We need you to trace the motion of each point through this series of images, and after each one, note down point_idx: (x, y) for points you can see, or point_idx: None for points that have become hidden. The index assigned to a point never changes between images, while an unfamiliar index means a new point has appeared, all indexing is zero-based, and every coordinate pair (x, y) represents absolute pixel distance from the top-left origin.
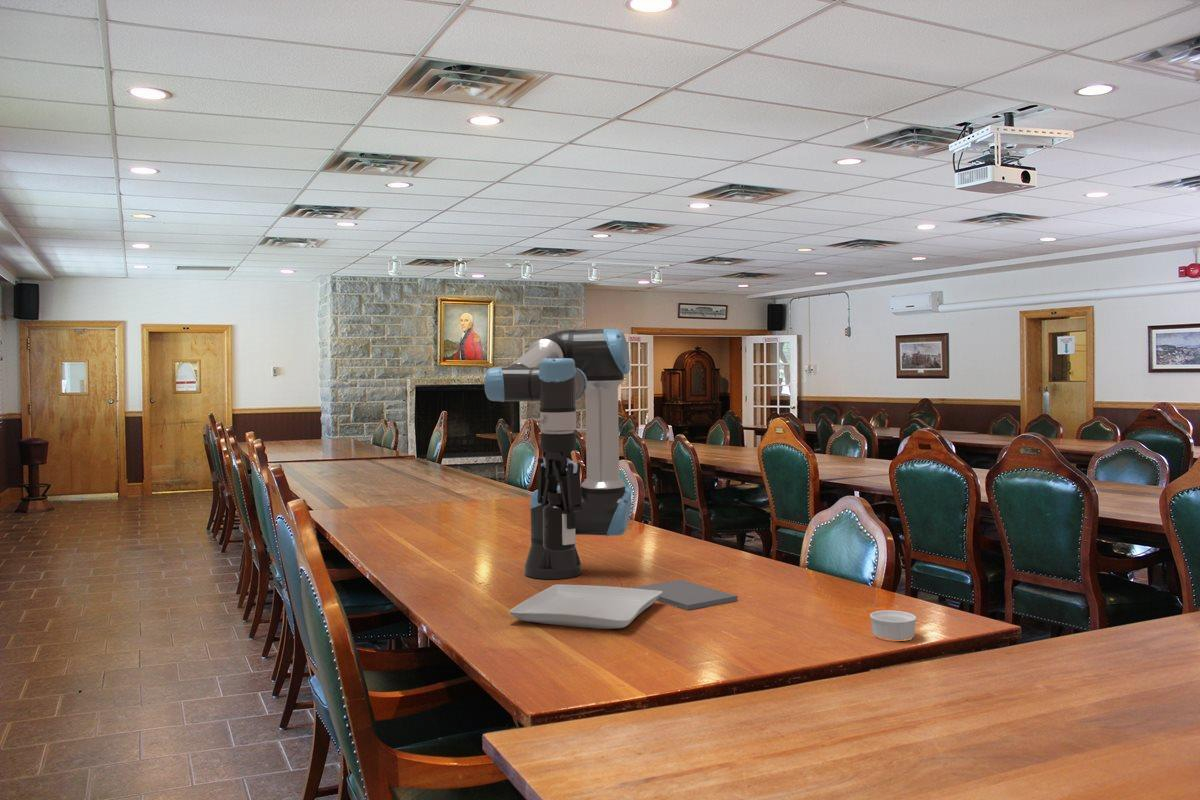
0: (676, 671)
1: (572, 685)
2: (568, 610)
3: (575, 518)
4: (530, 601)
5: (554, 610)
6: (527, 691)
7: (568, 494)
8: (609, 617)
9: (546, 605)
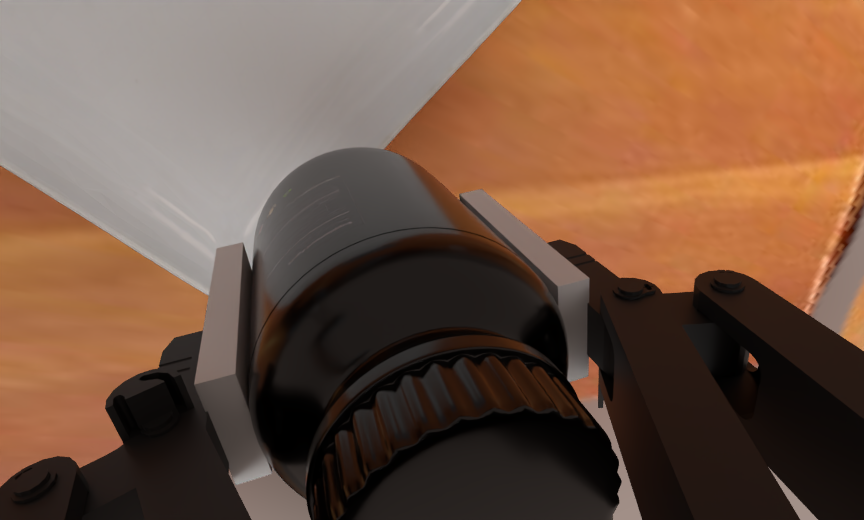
0: (826, 18)
1: (741, 266)
2: (128, 36)
3: (608, 270)
4: (87, 199)
5: (112, 93)
6: None
7: (795, 483)
8: None
9: (44, 109)
